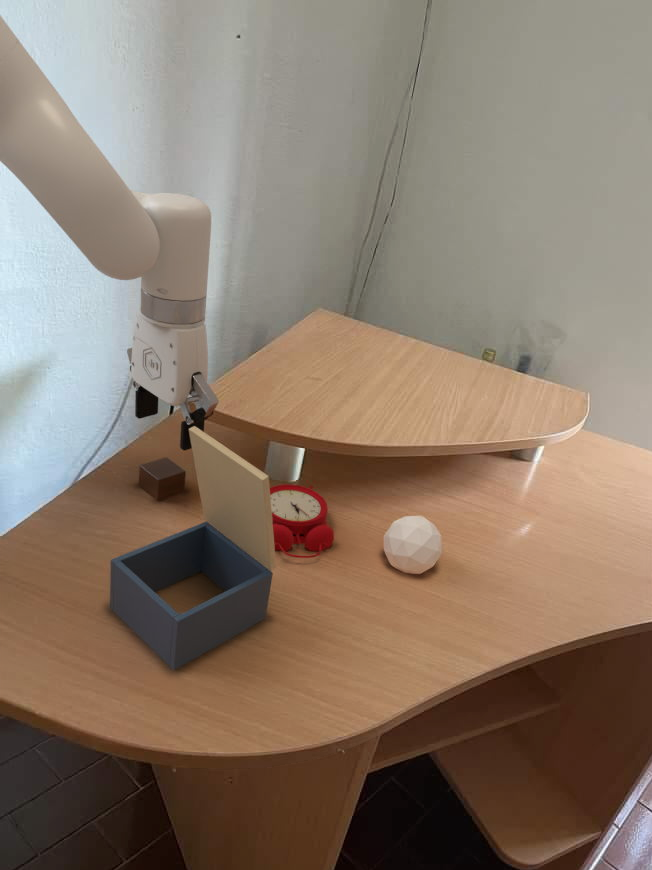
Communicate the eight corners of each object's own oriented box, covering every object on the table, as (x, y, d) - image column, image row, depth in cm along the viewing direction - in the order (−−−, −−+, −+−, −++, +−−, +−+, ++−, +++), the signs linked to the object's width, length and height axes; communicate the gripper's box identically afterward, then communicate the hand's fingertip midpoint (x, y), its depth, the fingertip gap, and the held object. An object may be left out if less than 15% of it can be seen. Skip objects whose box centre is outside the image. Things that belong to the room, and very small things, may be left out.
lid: (262, 480, 66) (269, 476, 66) (188, 428, 71) (194, 425, 72) (270, 571, 75) (276, 567, 75) (204, 519, 80) (209, 516, 81)
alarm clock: (321, 481, 101) (349, 521, 88) (316, 520, 103) (342, 566, 89) (250, 478, 98) (266, 519, 84) (246, 519, 100) (262, 566, 86)
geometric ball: (397, 572, 97) (413, 517, 98) (444, 586, 91) (460, 527, 92) (363, 561, 91) (381, 503, 92) (411, 575, 86) (429, 513, 87)
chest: (173, 677, 70) (178, 621, 66) (109, 614, 76) (110, 559, 72) (264, 625, 79) (273, 572, 75) (201, 572, 85) (206, 520, 81)
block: (138, 492, 96) (139, 465, 94) (164, 483, 99) (166, 456, 97) (157, 507, 94) (158, 480, 92) (183, 497, 97) (186, 471, 95)
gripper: (104, 285, 85) (106, 410, 93) (193, 336, 76) (185, 468, 85) (157, 279, 90) (153, 398, 99) (245, 326, 81) (233, 452, 90)
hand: (168, 430), depth 92 cm, fingers open, 9 cm apart
